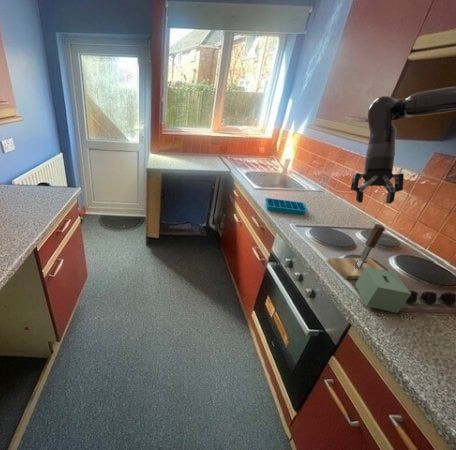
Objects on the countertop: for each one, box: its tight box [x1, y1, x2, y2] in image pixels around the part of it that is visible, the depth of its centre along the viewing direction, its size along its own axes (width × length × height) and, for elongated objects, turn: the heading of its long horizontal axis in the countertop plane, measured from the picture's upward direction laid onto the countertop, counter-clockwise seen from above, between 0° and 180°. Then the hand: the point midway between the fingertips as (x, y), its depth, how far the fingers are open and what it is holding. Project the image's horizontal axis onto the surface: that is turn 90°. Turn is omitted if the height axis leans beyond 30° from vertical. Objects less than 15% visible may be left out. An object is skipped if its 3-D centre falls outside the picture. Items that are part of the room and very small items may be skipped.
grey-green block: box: [354, 267, 412, 314], centre depth 78 cm, size 10×8×8 cm
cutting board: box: [327, 257, 385, 280], centre depth 92 cm, size 16×10×2 cm, turn 92°
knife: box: [357, 223, 386, 268], centre depth 87 cm, size 3×2×17 cm
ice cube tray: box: [264, 197, 309, 216], centre depth 135 cm, size 12×20×3 cm, turn 73°
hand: (374, 202), depth 89 cm, fingers open, 8 cm apart
